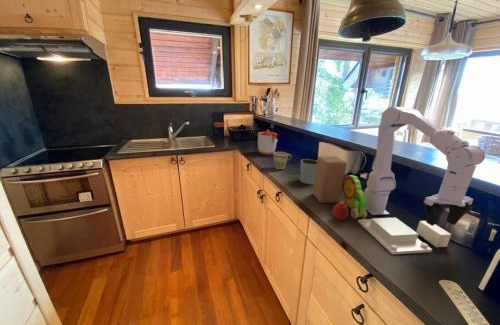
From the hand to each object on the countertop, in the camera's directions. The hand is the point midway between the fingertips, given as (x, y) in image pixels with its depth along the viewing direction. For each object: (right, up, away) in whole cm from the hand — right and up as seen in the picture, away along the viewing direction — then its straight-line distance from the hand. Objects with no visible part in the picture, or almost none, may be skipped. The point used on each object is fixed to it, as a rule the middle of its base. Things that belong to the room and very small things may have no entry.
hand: (440, 223), depth 69 cm
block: (-25, +2, +34) cm, 42 cm away
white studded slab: (-11, -7, +8) cm, 15 cm away
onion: (-26, -3, +16) cm, 31 cm away
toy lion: (-18, -1, +24) cm, 30 cm away
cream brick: (+3, -8, +7) cm, 10 cm away
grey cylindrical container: (-29, +9, +53) cm, 61 cm away
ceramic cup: (-40, +16, +74) cm, 86 cm away
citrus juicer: (-47, +27, +107) cm, 120 cm away
